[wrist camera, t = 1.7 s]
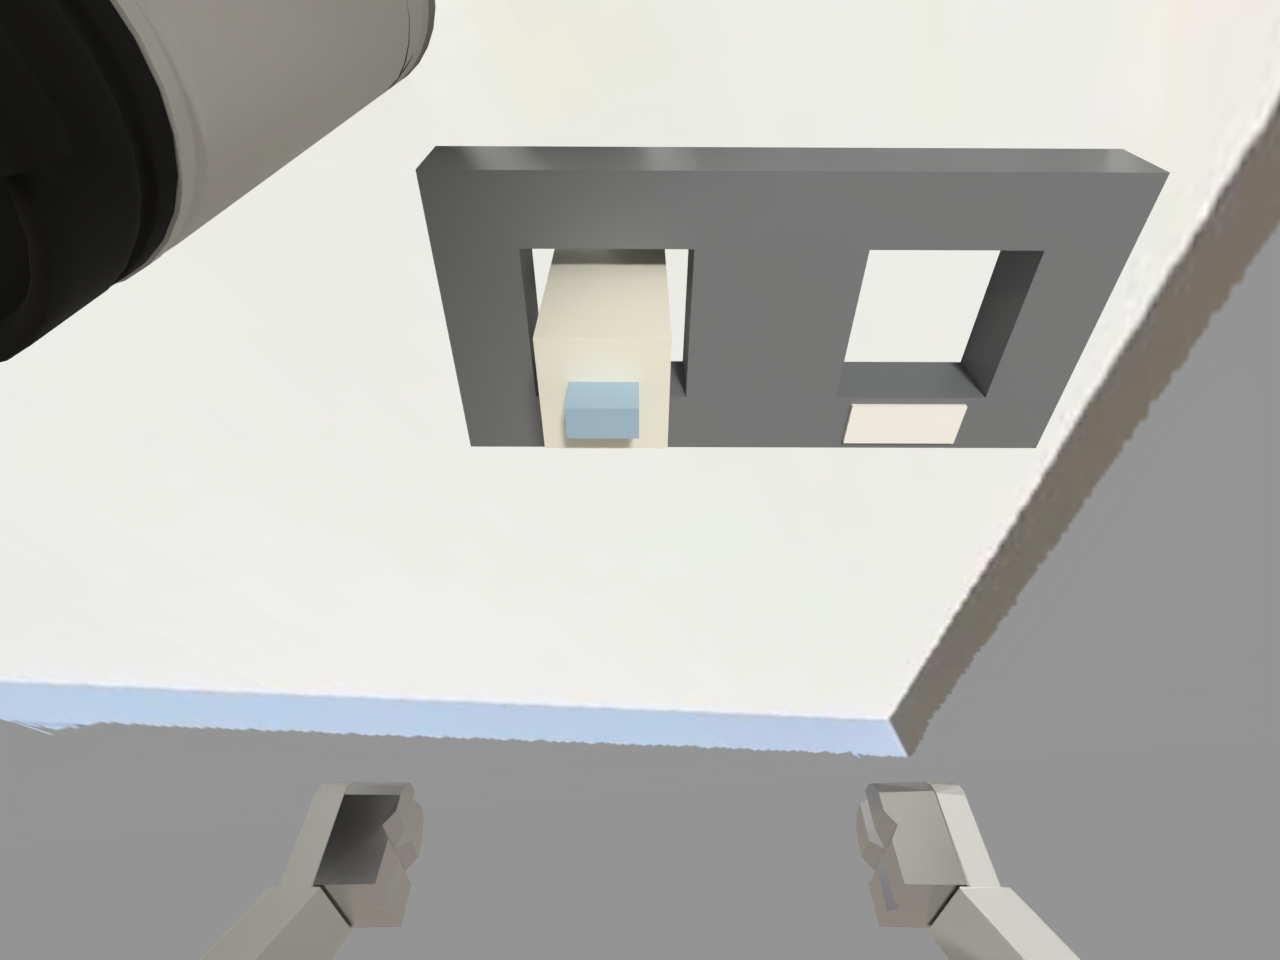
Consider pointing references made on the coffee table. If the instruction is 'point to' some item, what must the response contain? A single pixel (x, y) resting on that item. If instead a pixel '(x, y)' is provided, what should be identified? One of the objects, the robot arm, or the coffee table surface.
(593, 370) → the plug
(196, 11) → the travel mug
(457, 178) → the panel
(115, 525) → the coffee table surface
